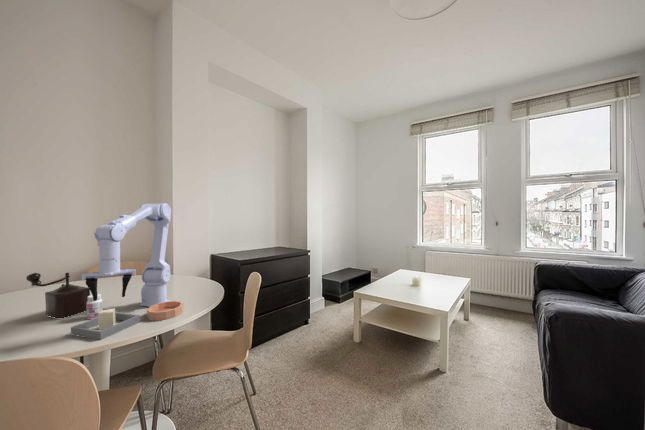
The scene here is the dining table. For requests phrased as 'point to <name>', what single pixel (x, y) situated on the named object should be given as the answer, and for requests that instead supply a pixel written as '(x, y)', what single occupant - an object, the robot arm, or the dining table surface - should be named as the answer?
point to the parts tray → (97, 334)
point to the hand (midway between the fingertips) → (109, 298)
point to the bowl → (165, 310)
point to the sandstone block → (106, 319)
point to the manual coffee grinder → (63, 297)
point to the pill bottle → (94, 306)
